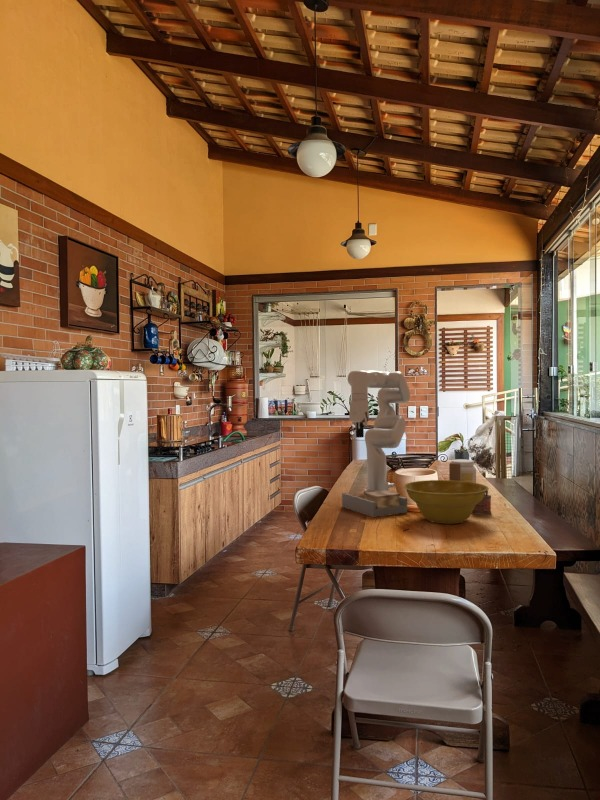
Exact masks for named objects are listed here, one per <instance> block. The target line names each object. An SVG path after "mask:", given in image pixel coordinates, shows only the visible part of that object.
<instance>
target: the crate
mask: <svg viewBox="0 0 600 800" xmlns="http://www.w3.org/2000/svg"><path fill="white" fill-rule="evenodd" d="M363 495H364V499H367V500H370V501H373V502H376V509H379V508H386V507H394V506H399V496H400V497H401V493H399V492H395V491H391V490H390V491H387V490H384V491H375V492H366V493H365V492H364V494H363Z"/></svg>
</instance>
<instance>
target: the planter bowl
mask: <svg viewBox="0 0 600 800" xmlns="http://www.w3.org/2000/svg"><path fill="white" fill-rule="evenodd" d="M403 489H405V490H406V494H407V495H408V497H409V499H410V500H412V501H413V502H414V503H415V504H416V506H417V509H418V510H419V512H420V514H421V515H422V517H423V518H424V519H426V520H427V521H429V522H431V523H436V524H445V525H446V524H449V525H451V524H460V523H463V522H465V521H466V520H468V519H469V518H470V517H471V515H472V514H473V513H472V512H473V510H474V508H475V505H476V504H477V503H478V502H480V501H481V500H482V499H483V497H484V495H486V493H485V492H486V491H487V490H488V491H489V486H487V485H485V484H482V483H479V482H478V483H477V482H476V483H473V482H465V481H453V480H449V479H447V480H446V479H445V480H444V479H430V480H429V479H426V480H417V481H411V482H407V483H405V484H404V485H403Z"/></svg>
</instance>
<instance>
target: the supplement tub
mask: <svg viewBox="0 0 600 800" xmlns="http://www.w3.org/2000/svg"><path fill="white" fill-rule="evenodd" d="M450 463H460V464H461V481H465V482H473V483H477V468H476V467H475V466H474V465H475V461H474V460H473V459H466V458H464V459H463V458H458V459H451V462H450Z"/></svg>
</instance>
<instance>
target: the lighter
mask: <svg viewBox="0 0 600 800" xmlns="http://www.w3.org/2000/svg"><path fill="white" fill-rule="evenodd" d="M491 498H492V495H491V494H489V489H488V490H487V491H486V492H485V495H484V497H483V499H482V500H481V501H480V502H478V503H477V504H476V505H475V508H474V510H473V512H472V513H471V514H479V515H492V510H491V509H492V506H491V505H492V502H491V501H492V499H491Z"/></svg>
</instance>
